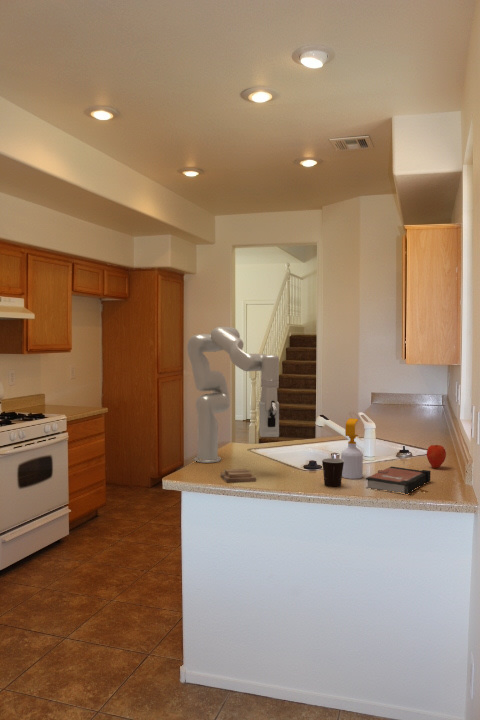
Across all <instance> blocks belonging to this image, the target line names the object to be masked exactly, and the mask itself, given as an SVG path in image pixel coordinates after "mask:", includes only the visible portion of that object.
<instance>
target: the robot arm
mask: <svg viewBox="0 0 480 720" xmlns="http://www.w3.org/2000/svg"><path fill="white" fill-rule="evenodd" d="M240 336H241V335H240V332H239V330H238V329H237V328H236V327H232V326H217V327H215V328H213V329H212V330H211V332H210V333H198V334H194V335H192V336H191V337H190V338H189V340H187V345H186V352H187V357H188V359H189V362H190V365H191V370H192V375H193V379H194V385H195V388H196V390H197V391H199V392H211V393H205V394H200V395H199V396H198V397H197V398H196V400H195V409H196V416H197V456H195V457H194V458H193V460H194V462H196V461H197V463H203V464H204V463H205V464H209V463H210V464H212V463H213V464H214V463H219V462H221V459H222V458H221V456H218V448H219V447H218V445H219V443H218V442H219V440H218V437H219V433H218V432H219V427H218V425H219V424H218V419H217V417H216V415H215V414H218V413H219V414H220V413H225V412H227V411H228V410H229V409H230V405H231V399H230V393H229V389H228V385H227V379H226V376H225V375H224V374H223V373H222V372H220V371H218V370H211V366H210V362H209V359H208V358H207V356H206V355H205V354H204V353H212V352H213V353H216V352H221V351H224V352H226V353H227V354H228V356H229V358H230V361H231V363H232V364H234V365H235V366H236V367H237V368H239V370H242V371H244V372H260V388H261V392H260V400H259V402H264V403H265V411H268V415H269V418H268V427H275V417H276V415H275V414H276V410H277V402H278V388H279V383H280V382H279V379H280V377H279V376H280V357H279V355H276V354H264V353H246V352H245V351H244V350H243V349H244V341H243V339H241V337H240ZM270 409H272V410H270ZM270 412H271V414H270ZM200 459H201V460H200ZM198 460H199V461H198Z"/></svg>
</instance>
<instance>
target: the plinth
mask: <svg viewBox="0 0 480 720" xmlns="http://www.w3.org/2000/svg"><path fill="white" fill-rule="evenodd" d="M220 477H221V478H222V479H223V480H224V481H225V482H226V483H227V484H228V483H232V484H234V483H248V482H252V483H253V482H256V481H257V477H255V475H254V474H252V472H251V471H249V470H248V469H247V468H232V469H224V472H223V471H222V472H220Z"/></svg>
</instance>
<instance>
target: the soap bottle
mask: <svg viewBox="0 0 480 720" xmlns="http://www.w3.org/2000/svg"><path fill="white" fill-rule="evenodd" d="M358 421H359V419H358V418H352V417H351V418H348V419H347V421H346V422H345V432H344V433H345V437H348V438H349V441H347V443H348V444H347V447H345V448H344V449H343V450H342V451H341V452H340V459H341V460H344V465H343V472H342V478H344V479H348V480H350V479H351V480H359V479H361V478H363V471H364V469H363V466H364V465H363V463H364V460H363V458H364V455H363V454H364V453H363V452H362V450H361V449H359V448H358V447H357V441H355V439H356V438H357V437H359V434H356V424H357V422H358Z"/></svg>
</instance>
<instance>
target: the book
mask: <svg viewBox="0 0 480 720" xmlns="http://www.w3.org/2000/svg"><path fill="white" fill-rule="evenodd" d="M366 480H367V486H366V488H365V489H368V488H371V489H370V490H374V489H377V490H376V491H380V490H387V491H394V492H401V493H405V494H408V493H410V492H411V491H412V490H414V489H415V488H417V487H419V486H421V485H422V486H424V485H425V484H424V483H426V482H429V481H430V482H431V470H427V469H422V470H419V469H418V470H417V469H410V468H407V467H406V468H405V467H397V466H389V467H388V468H387V467H386V468H385V469H383V470H382V469H381V470H380V469H379V470H377V472H376V473H373V474H371V475H369V476H367V477H366ZM430 482H429V483H430ZM423 484H424V485H423ZM426 484H427V483H426ZM422 486H421V487H422ZM419 488H420V487H419ZM417 489H418V488H417ZM414 491H415V490H414ZM412 492H413V491H412ZM412 492H411V493H412Z"/></svg>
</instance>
